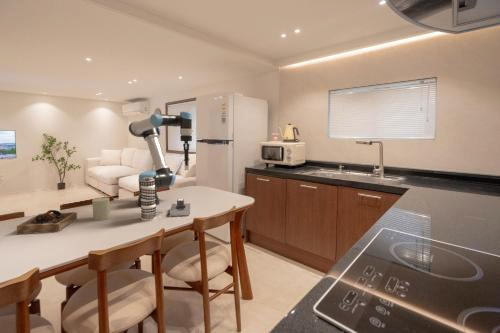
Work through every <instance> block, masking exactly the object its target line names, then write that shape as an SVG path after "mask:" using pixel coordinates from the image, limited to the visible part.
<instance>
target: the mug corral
mask: <svg viewBox="0 0 500 333" xmlns="http://www.w3.org/2000/svg"><path fill="white" fill-rule="evenodd" d="M45 213H46V212H44V213H39V214H37V215H35V216H34V217H31V218H29V219H27V220H25V221H24V222H22V223H19V224H18V225H16V233H17V234H18V235H19V234H36V233H35V232H41V233H55V232H56V233H57V232H58V231H59V232H60V231H61V232H62V230H64V229H65V228H66V226H67V227H68V226H69V225H70V223H71V224H72V223H74V222H75V221H76V220H77V219H78V212H77V211H73V212H70V211H69V212H60V213H61V214H62V216H61V217H62V219H61V220H60V221H59V222H57V223H53V222H54V221H53V220H52V219H49V221H48V222H51V221H53V222H51V223H43V224H40V223H39V222H37V221H36V220H35V218H36V216H38V215H43V214H45ZM50 215H52V216H55V218H57V216H59V215H58V214H53V212H51V213H50ZM40 219H41V218H39V220H40Z"/></svg>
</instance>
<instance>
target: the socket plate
mask: <svg viewBox="0 0 500 333" xmlns="http://www.w3.org/2000/svg"><path fill="white" fill-rule="evenodd" d="M189 215H190V216H191V203H184V209H177V203H171V207H170V210H169V217H182V216H183V217H185V216H187V217H188V216H189Z"/></svg>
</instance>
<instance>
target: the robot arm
mask: <svg viewBox="0 0 500 333" xmlns="http://www.w3.org/2000/svg"><path fill="white" fill-rule="evenodd" d="M192 121H193V118H192V112H190V111H180V112H179V114H177V115H176V114H175V115H174V114H161V113H152V114H151V115H150V116H149V117H148V118H144V119H142V120H139V121H138V120H134V121H132V122H131V123H130V124H129V125H128V132H129V133H130V134H131V135H132V136H133V137H136V138H143V140H144V142H146V143H147V147H148V149H149V152H150V156H151V160H152V162H153V166H154V170H150V171H149V170H147V171H143V172H141V173H139V175H138V189H139V190H138V192H139V193H138V197H137V201H136V205H137V206H138V207H141V205H142V201H141V198H140V196H141V195H140V193H141V192H140V187H141V181H140V180H142V178H144V177H152V178H153V179H155V180H154V185H155V186H156V187H154V189H156V191H155V192H156V193H155V195H156V197H155V198H156V199H155V204H156V206H158V205H159V204H160V198H159V196H158V193H157V189H161V188H169V187H172V186H174V184H175V182H176V173H175V172H174V171H173V170H171V168H170V167H169V166H167V163H166V159H165V156H164V153H163V150H162V147H161V144H160V140H159V139H160V136H161V131H162V130H161V127H175V128H176V127H179V130H180V131H179V132H180V133H179V134H180V138H179V140H180V141H181V142H183V144H182V147H183V151H184V154H183V155H184V159H183V162H184V171H190V166H189V165H190V164H189V163H190V162H189V161H190V157H189V156H190V153H189V150H190V143H189V142H192V141H193V132H194V131H193V130H192V129H193V127H192V125H193V122H192Z"/></svg>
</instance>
